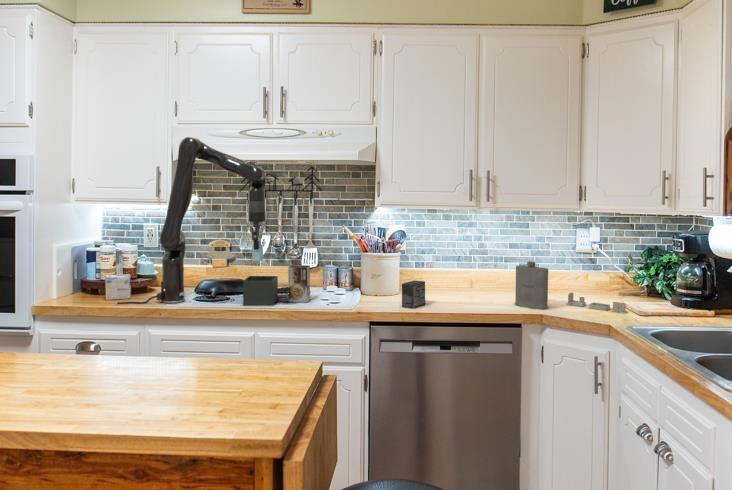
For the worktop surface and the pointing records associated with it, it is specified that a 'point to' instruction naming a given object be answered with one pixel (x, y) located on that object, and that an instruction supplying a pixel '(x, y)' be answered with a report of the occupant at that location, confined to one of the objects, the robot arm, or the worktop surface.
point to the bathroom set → (596, 304)
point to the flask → (531, 286)
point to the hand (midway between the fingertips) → (257, 248)
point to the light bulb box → (118, 286)
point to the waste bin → (260, 290)
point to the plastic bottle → (257, 252)
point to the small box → (413, 294)
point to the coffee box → (299, 283)
